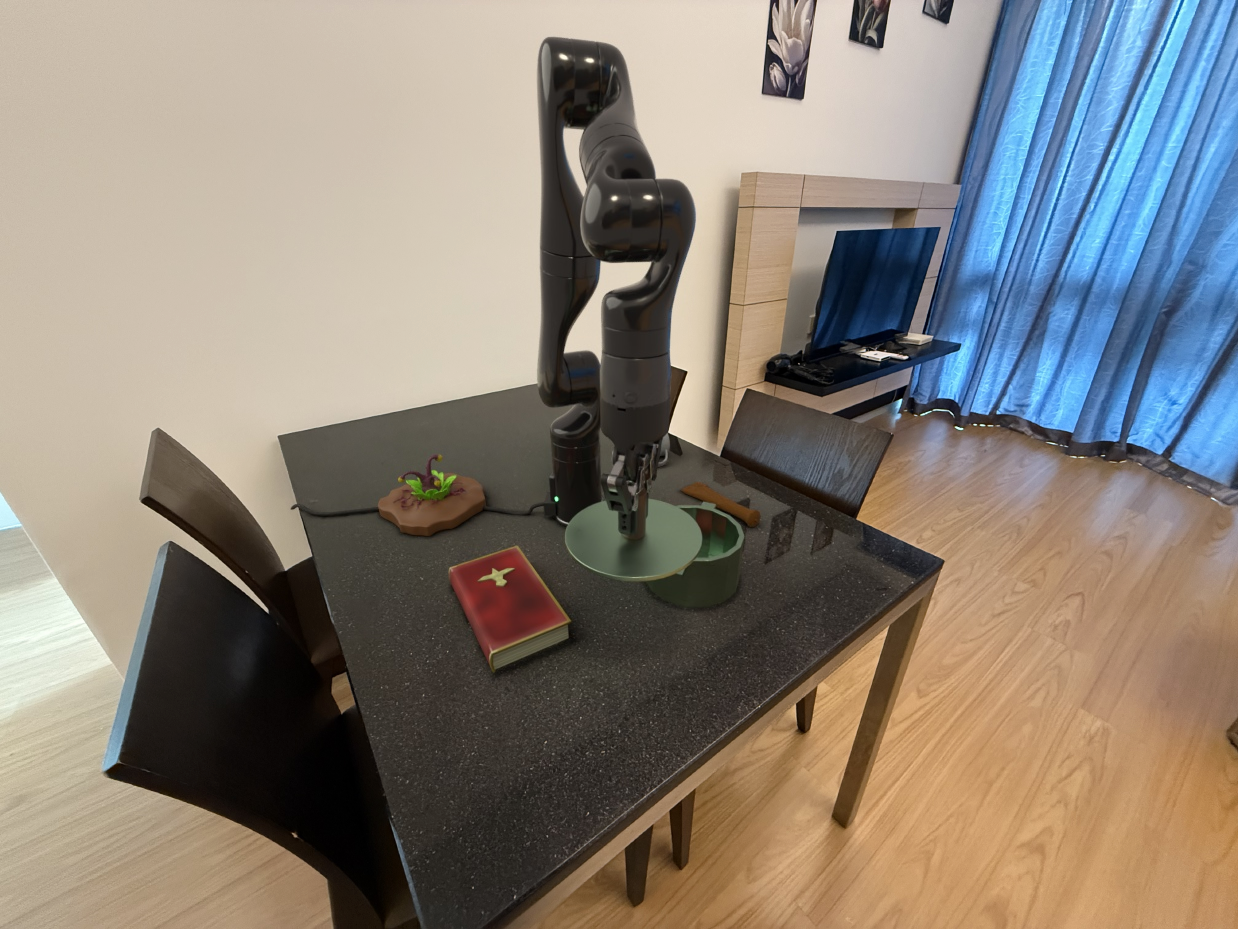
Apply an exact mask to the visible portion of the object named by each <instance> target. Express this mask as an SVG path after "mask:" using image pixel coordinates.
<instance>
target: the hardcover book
mask: <svg viewBox="0 0 1238 929" xmlns="http://www.w3.org/2000/svg"><path fill="white" fill-rule="evenodd" d="M448 579H449V582H450V585H451V586H452V588H453V590H454V593H455V595H456V597H457V599H458V601H459V603H460V606H461V608H462V610H463V612H464V615H465V617H466V619H467V620H468V623H469V625H470V627H471V629H472V631H473V634H474V636H475V638H476V639H477V642H478V644H479V647H480V648H481V650H482V653H483V655H484V657H485V658H486V661H487V663H488V666H489V668H490V669H491V670H490V671H491V672H492V673H496V670H497V669H501V667H505V666H507V665H509V664H511V663H514V662H516V661H518V660H520V659H521V660H522V659H523V658H525V657H528V656H530V655H532V654H535V653H537V652H539V651H542V650H544V649H546V648H549V647H551V646H553V645H555V644H558V643H560V642H563V641H565V640H567V639H569V637H570V636H569V625H570V624H572V620H571V619H570V617H569V616H568V614H567V613H566V612H565V610H564V609H563V607H562V606H561V604H560V603H559V601H557V599H556V598H555V596H554V594H553V593H552V592H551V590H550V589H549V588H548V585H546V583H545V582H544V581H543V579H542V578H541V576H540V575H539V573H538V572H537V571H536V570H535V568H534V567H533V565H532V564H531V562H530V561H529V559H528V558H527V557H526V555H525V553H524V552H523V551H522V550H521V548H520V547H519V545H514V546H511V547H508V548H505V549H502V550H499V551H496V552H492V553H490V554H486V555H483V556H480V557H477V558H475V559H471V560H467V561H464V562H461V563H459V564H455V565H453V566H450V567H449V568H448Z"/></svg>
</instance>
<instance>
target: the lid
mask: <svg viewBox="0 0 1238 929" xmlns="http://www.w3.org/2000/svg"><path fill="white" fill-rule="evenodd" d="M629 493H630V498H631V496H632V494H631V492H629ZM647 493H648V492H647V491H646V489H645V488H643V490H641V491H640V492H639V499H638V530H637V533H636V534H635V535H634V536H629V535H625V534H621V533H620V532H619V531H618V512H617V511H611V510H609V509H608V505H607V502H606V500H603V501H602V502H599V503H596V504H593V505H591V506H589V507H587V508H585V509H583V510H582V511H580V512H579V513H578V514H577V515H576V516H574V517H573V518H572V520H571V521H570V522H569V524H568V526H566V529H565V533H564V544H565V548H566V551H567V553H568V554H569V556H570V558H571V559H572V560H573V562H575V563H576V564H577V565H578V566H580V567H581V568H582V569H584V570H586V571H588V572H589V573H591V574H593V575H596V576H599V577H603V578H606V579H609V580H614V581H622V582H636V583H639V582H645V581H650V580H656V579H661V578H665V577H668V576H671V575H673V574H676V573H678V572H680V571H682V570H683V569H685V568H686V567H688V566H689V565H690V564H691V563H692V562H693V561H694V560H695V559H696V558H697V556H698V554H699V553H700V550H701V546H702V533H701V530H700V528H699V526H698V524H697V523H696V521H695V520H694V519H693V518H692V517H691V516H690V515H689V514H687V513H686V512H685V511H683V510H681V509H680V508H678V507H676V506H677V505H673V504H671V503H668V502H666V501H661V500H658V499H653V498H648V516H647V518H646V498H647Z"/></svg>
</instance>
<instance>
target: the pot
mask: <svg viewBox="0 0 1238 929" xmlns="http://www.w3.org/2000/svg"><path fill="white" fill-rule="evenodd" d="M675 506H676V507H678V508H680V509H681V510H683V511H685V512H686V513H687V514H689V515H690V516H691V517H692V518H693V519H694V520H695V521H696V523H697V524H698V526H699V528H700V530H701V533H702V546H701V550H700V553H699V554H698V556H697V558H696V559H695V560H694V561H693V562H692V563H691V564H690V565H689V566H688V567H686V568H685V569H683V570H682V571H680V572H678V573H676V574H673V575H671V576H668V577H665V578H661V579H656V580H650V581H644V582H645V583H646V585H647V586H648V588H649V589H650V591H651V592H652V593H653V594H654V595H656V596H658V597H659V598H661V599H662V600H664V601H666V602H667V603H670V604H674V605H676V606H677V605H678V606H681V607H684V608H709V607H712V606H715V605H718V604H721V603H724V602H725V601H726V600H728V599H729V598H731V596H733V595H734V594H736V591H737V589H738V586H739V582H740V576H741V568H742V560H743V551H744V544H745V534H744V531H743V529H742V525H741V524H740V523H739V522H738V521H736V520H735V519H734V518H733V517H732V516H731V514H728V513H725V512H724V511H722V510H720V509H718V508H717V507H716V504H713V503H708V502H705V501H702V503H701V505H698V504H679V505H675Z"/></svg>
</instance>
